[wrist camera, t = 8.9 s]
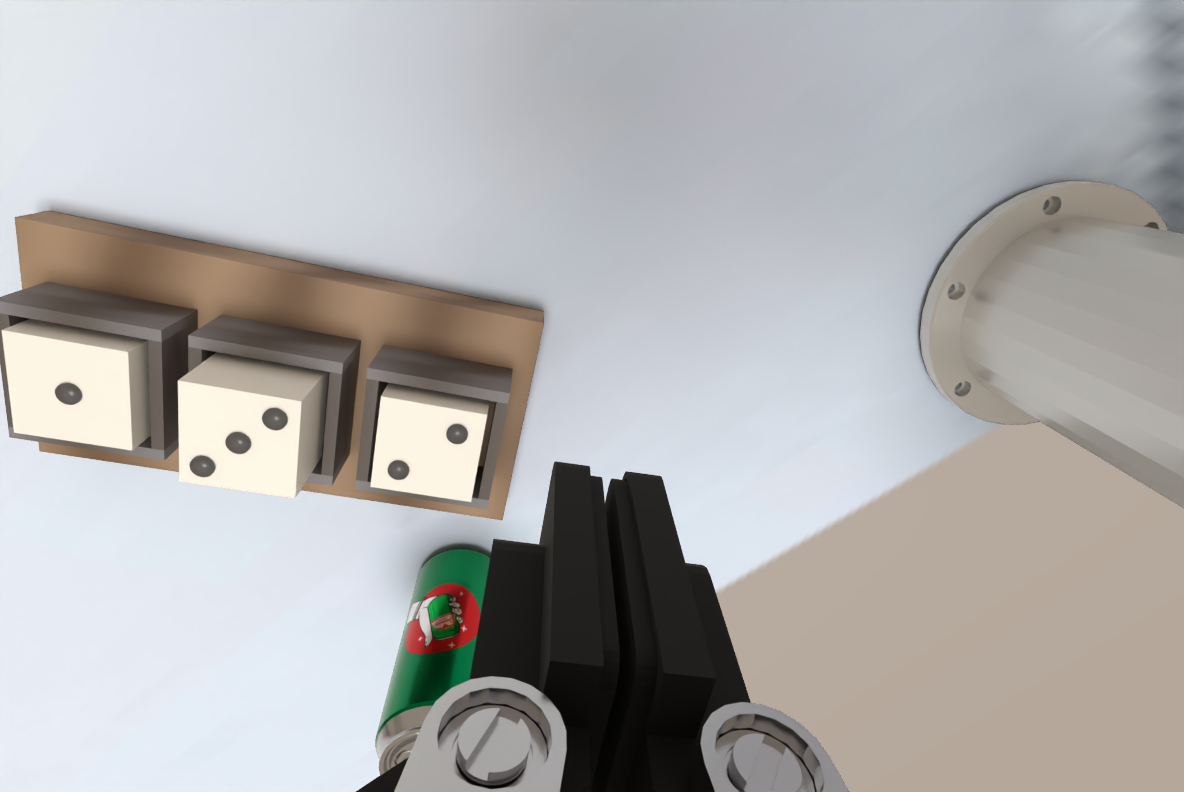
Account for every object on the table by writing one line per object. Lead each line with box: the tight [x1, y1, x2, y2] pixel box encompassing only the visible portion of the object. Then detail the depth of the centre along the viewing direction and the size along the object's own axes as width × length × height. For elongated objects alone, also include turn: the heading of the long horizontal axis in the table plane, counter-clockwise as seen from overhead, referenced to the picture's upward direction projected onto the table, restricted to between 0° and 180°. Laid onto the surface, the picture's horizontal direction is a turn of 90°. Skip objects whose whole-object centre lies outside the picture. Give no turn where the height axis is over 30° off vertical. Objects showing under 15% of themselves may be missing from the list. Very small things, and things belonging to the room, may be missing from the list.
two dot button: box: [370, 383, 490, 502], centre depth 29 cm, size 4×4×4 cm
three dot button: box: [178, 352, 329, 498], centre depth 27 cm, size 4×4×4 cm
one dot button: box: [2, 319, 151, 451], centre depth 27 cm, size 4×4×4 cm
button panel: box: [0, 211, 544, 520], centre depth 30 cm, size 22×11×5 cm, turn 77°
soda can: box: [375, 549, 490, 775], centre depth 32 cm, size 5×5×12 cm
